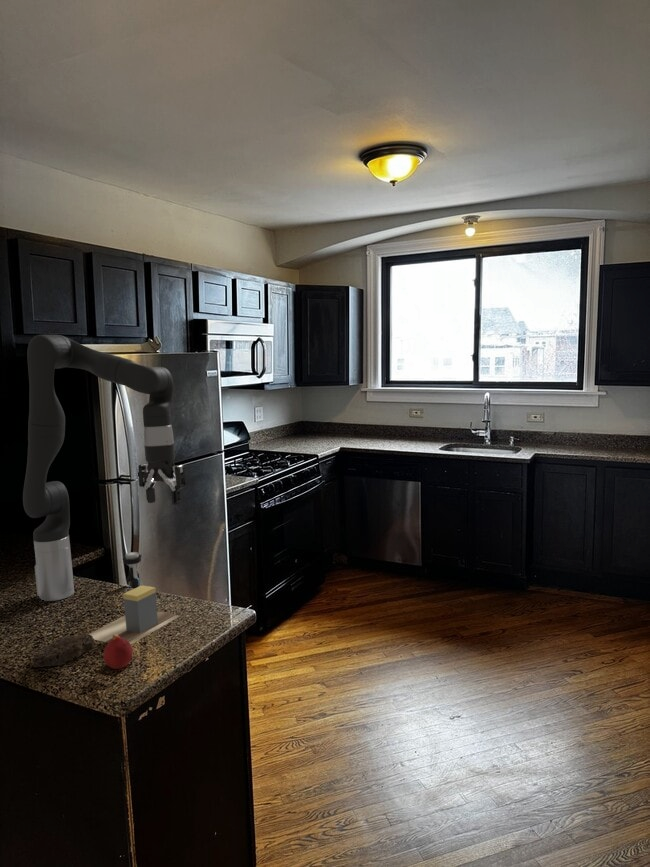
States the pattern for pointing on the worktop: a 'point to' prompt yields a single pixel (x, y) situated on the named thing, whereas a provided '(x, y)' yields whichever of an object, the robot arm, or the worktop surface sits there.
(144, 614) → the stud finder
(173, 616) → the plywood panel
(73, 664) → the worktop surface
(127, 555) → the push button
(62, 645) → the concrete sample
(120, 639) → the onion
